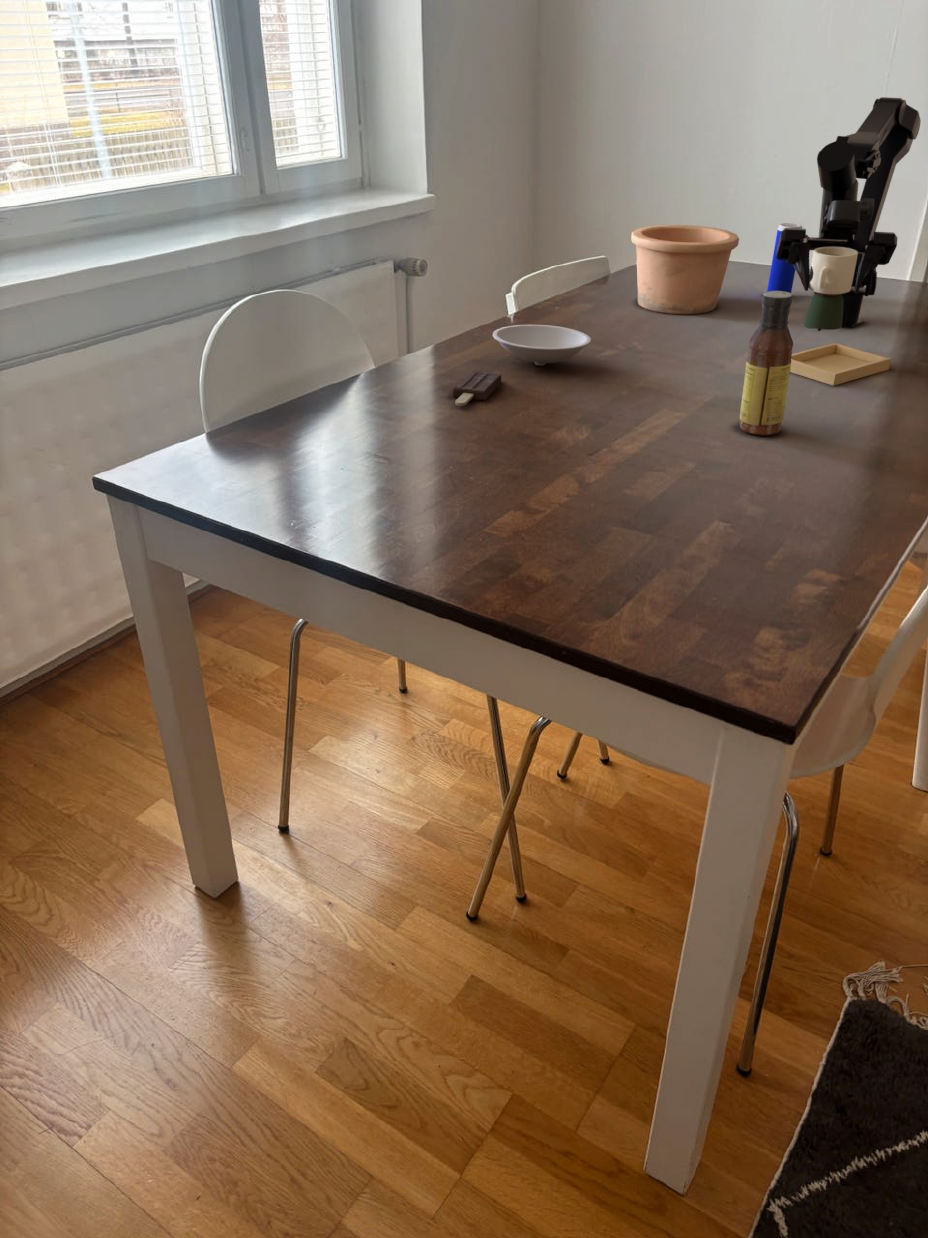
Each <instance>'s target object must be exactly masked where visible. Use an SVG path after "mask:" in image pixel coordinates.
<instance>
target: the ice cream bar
mask: <svg viewBox="0 0 928 1238" xmlns="http://www.w3.org/2000/svg"><path fill="white" fill-rule="evenodd" d="M501 383H502V375H501V374H499V373H492V372H489V371H487V370H478V369H476V370H472V371H470V372H469V373H468V374H467V375H466V376H465V377H464V378H463V379H462V380H461V381H460V382H458V384H456V385H455V386H454V387H453V391H452V394H453V395H452V396H453V397H454V398H456V399H455V401H454V403H455V405H456V406H459V407H462V406H463V407H464V406H466V405H467V404H468V403H470V401H471V400H473V401H474V400H475V401H486V400H487V398H488V397H489V396H490V395H492V394H493V392H495V390H496V389H497V388H498V387H499V386H500V385H501Z"/></svg>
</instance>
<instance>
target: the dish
mask: <svg viewBox="0 0 928 1238" xmlns="http://www.w3.org/2000/svg"><path fill="white" fill-rule="evenodd" d="M492 337H493V339H494V340H495V341H496V342H497V341H498V342H499V344H500V345H501V346H502V347H503V348H504V349H505V350H506V352H508V353H509V354H510V355H512V356H513V357H515V358H518V359H520V360H522V361H526V362H529V363H534V364H535V365H536V366H545V365H546V364H554V363H559V362H564V361H567V360H569V359H570V358H572V357H574V356H575V355H577V354H578V353H579V352H581V351H582V350H583V349H584V347H586V346H588V345H590V344H591V342H592V338H591V336H590V335H588V334H586V333H585V332H582V331H580V330H577V329H573V328H569V327H563V326H558V325H557V326H556V325H547V324H515V325H507V326H503V327H499V328H497V329H495V330H494V331H493V332H492Z"/></svg>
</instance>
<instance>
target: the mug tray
mask: <svg viewBox="0 0 928 1238" xmlns="http://www.w3.org/2000/svg"><path fill="white" fill-rule="evenodd" d="M891 361H892V358H891V357H887V356H883V355H881V354H877V353H873V352H869V351H866V350H862V349H859V348H855V347H852V346H848V345H845V344H840V343H837V342H833V343H830V344H829V343H828V344H825V345H822V346H818V347H815V348H811V349H806V350H803V351H799V352H794V353H792V354H791V368H790V373H792V374H794V375H798V376H801V377H805V378H807V379H811V380H813V381H817V382H819V383H822V384H823V383H824V384H826V385H830V386H833V387H834V386H837V385H840V384H844V383H847V382H850V381H855V380H858V379H860V378H864V377H868V376H871V375H875V374H878V373H882V372H884V371H888V370H889V369H890V366H891Z"/></svg>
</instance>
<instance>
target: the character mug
mask: <svg viewBox="0 0 928 1238" xmlns="http://www.w3.org/2000/svg"><path fill="white" fill-rule="evenodd" d="M857 256H858V252H857V251H856V250H854V249H851V248H845V247H820V248H816V249H814V250H813V252H812V257H811V263H810V270H809V271H810V281H809V288H808V290H810V291H812V292H813V294H812V296H811V297H810V301H809V304H808V307H807V310H806V313H805V317H804V320H803V321H804V322H803V326H804V327H806V328H808V329H813V330H815V329H816V330H817V331H818V332H821V331H822V330H829V331H831V330H832V331H833V330H834V331H835V330H840V329H841V328H842V327H843V326H842V319H843V301H844V300H843V296H842V294H843V293H847V292H849V291H850V289H851V287H852V282H853V277H854V272H855V266H856V261H857Z"/></svg>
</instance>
